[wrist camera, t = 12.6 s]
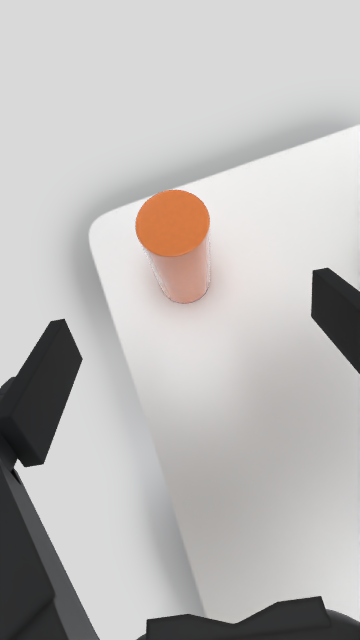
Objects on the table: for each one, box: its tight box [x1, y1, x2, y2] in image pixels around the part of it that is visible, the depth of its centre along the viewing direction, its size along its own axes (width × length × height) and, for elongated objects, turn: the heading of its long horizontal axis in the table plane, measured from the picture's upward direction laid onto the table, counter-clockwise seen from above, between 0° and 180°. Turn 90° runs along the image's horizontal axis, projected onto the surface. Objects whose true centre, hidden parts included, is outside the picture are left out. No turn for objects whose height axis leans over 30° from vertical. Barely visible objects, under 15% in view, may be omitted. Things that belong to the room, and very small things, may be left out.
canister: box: [135, 190, 210, 303], centre depth 24 cm, size 5×5×10 cm
